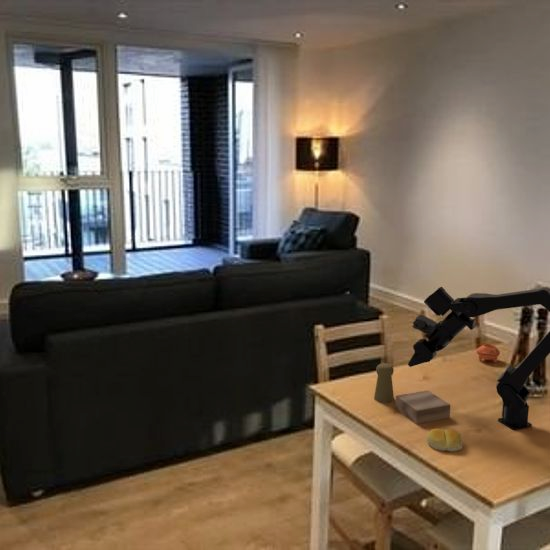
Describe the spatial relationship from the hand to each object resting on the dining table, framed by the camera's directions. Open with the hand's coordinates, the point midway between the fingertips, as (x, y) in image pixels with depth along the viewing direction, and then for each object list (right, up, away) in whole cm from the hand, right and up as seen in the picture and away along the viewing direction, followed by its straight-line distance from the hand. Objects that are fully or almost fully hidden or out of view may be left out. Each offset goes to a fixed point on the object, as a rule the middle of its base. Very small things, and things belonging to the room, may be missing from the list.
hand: (414, 360), depth 178 cm
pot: (+35, -5, +37) cm, 51 cm away
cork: (-8, -12, +4) cm, 16 cm away
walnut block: (+1, -14, -6) cm, 15 cm away
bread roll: (+2, -18, -24) cm, 30 cm away
